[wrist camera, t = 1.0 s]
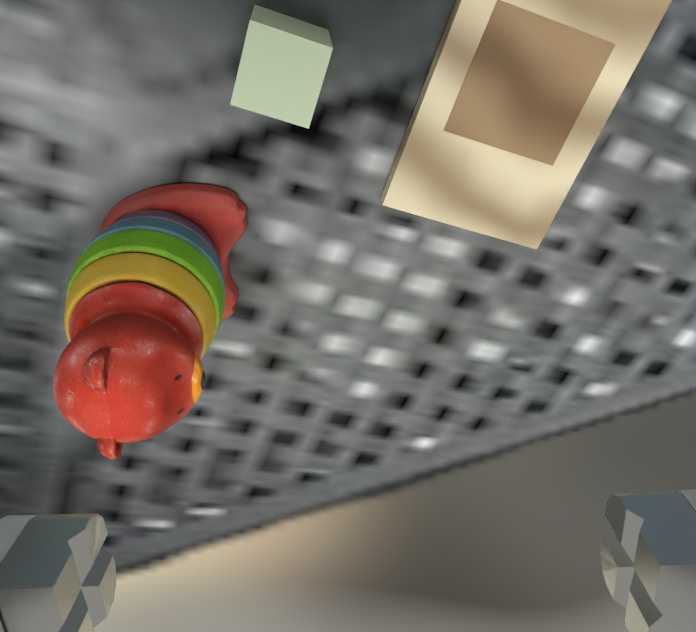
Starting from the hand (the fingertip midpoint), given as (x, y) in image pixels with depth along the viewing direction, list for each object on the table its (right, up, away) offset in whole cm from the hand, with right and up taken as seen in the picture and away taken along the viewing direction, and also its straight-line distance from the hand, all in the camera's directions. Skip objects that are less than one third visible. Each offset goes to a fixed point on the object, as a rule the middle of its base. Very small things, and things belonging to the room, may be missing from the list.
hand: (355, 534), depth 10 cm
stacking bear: (-13, +8, +36) cm, 39 cm away
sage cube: (-4, +19, +29) cm, 35 cm away
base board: (+11, +18, +31) cm, 37 cm away
